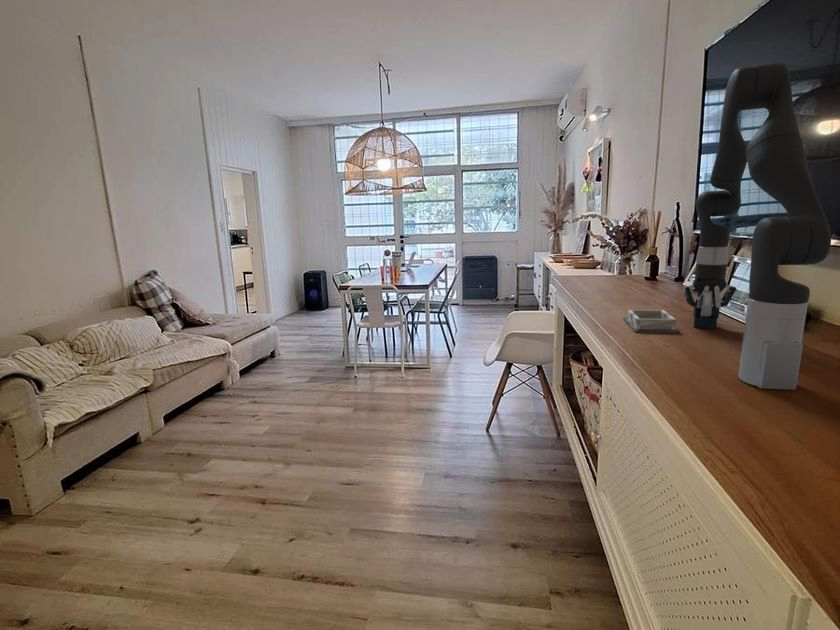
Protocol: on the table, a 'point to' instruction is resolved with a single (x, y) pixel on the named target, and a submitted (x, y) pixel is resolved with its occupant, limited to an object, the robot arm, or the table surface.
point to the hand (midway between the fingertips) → (705, 319)
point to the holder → (651, 321)
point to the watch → (706, 313)
